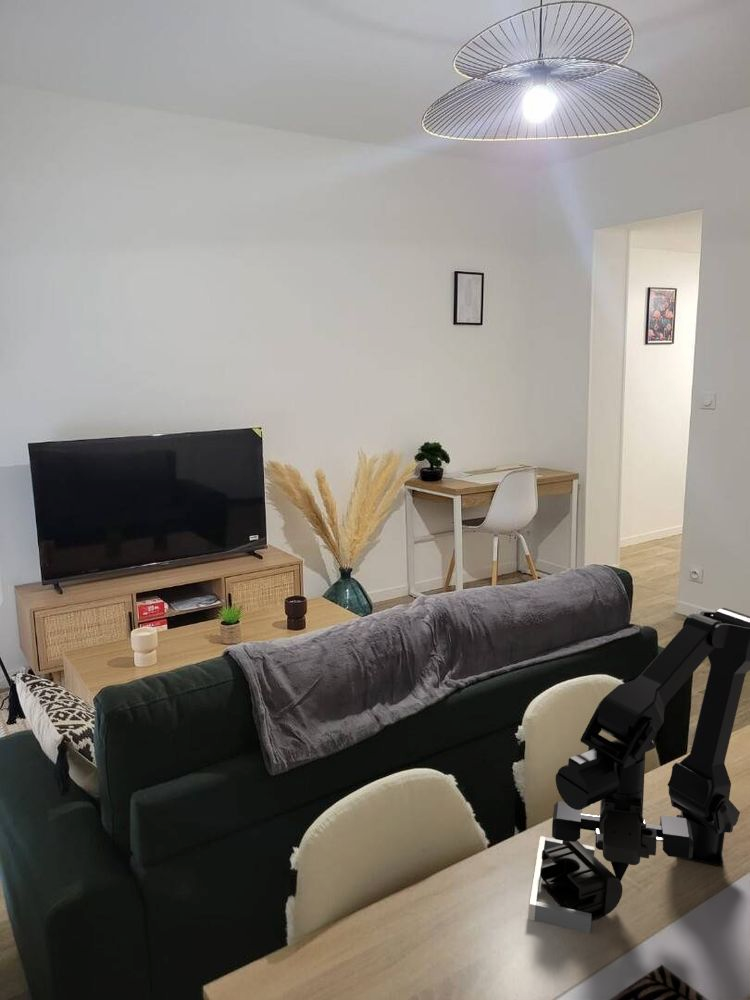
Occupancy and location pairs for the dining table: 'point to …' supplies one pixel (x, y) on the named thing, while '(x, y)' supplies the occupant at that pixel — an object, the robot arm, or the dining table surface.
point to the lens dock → (552, 912)
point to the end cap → (580, 880)
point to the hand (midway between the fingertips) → (618, 880)
